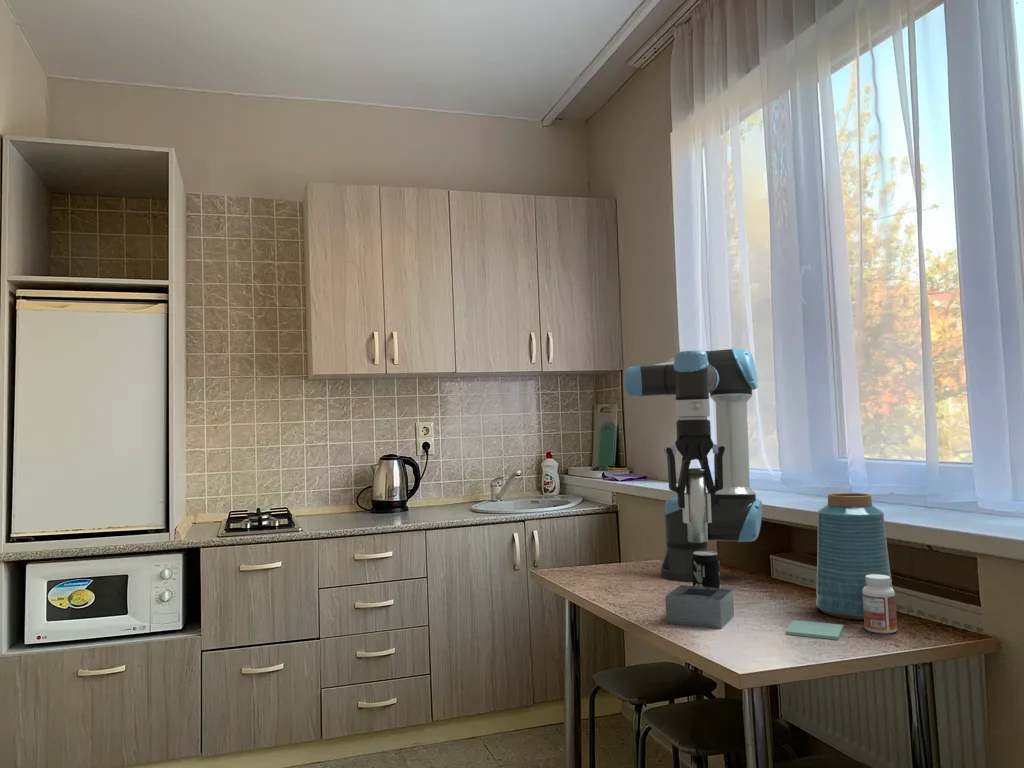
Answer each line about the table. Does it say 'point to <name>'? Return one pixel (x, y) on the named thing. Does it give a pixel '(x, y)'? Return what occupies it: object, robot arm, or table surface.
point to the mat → (815, 629)
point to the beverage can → (705, 569)
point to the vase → (849, 553)
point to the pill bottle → (879, 605)
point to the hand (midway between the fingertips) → (697, 522)
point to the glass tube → (697, 505)
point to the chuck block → (700, 606)
